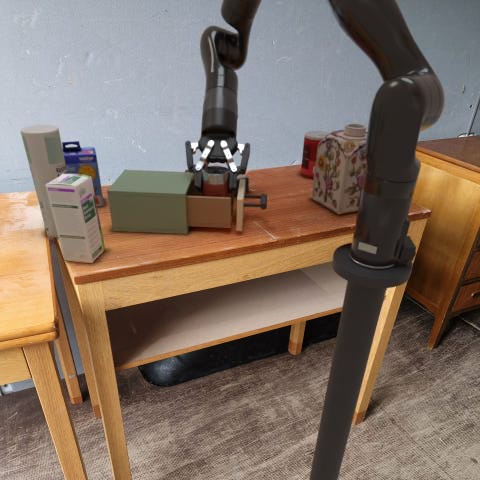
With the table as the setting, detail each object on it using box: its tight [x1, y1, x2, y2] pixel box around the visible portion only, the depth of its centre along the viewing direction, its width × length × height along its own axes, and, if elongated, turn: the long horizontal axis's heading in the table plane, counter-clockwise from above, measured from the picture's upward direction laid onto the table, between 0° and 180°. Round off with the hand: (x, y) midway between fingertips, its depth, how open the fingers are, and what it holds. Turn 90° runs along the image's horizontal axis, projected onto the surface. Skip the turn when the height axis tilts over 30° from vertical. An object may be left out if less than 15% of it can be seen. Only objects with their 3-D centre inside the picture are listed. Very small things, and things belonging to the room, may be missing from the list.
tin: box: [202, 165, 230, 197], centre depth 93 cm, size 6×6×8 cm
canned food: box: [300, 130, 331, 180], centre depth 123 cm, size 8×8×11 cm
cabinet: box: [106, 169, 195, 235], centre depth 95 cm, size 16×14×9 cm
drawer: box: [186, 179, 268, 232], centre depth 95 cm, size 19×12×7 cm, turn 87°
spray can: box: [20, 124, 67, 239], centre depth 86 cm, size 6×6×20 cm
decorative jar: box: [311, 122, 368, 216], centre depth 103 cm, size 12×12×18 cm
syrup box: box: [45, 174, 106, 264], centre depth 79 cm, size 6×6×14 cm
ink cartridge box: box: [61, 140, 105, 208], centre depth 100 cm, size 10×6×14 cm, turn 108°
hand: (215, 190), depth 92 cm, fingers closed on tin, 6 cm apart
